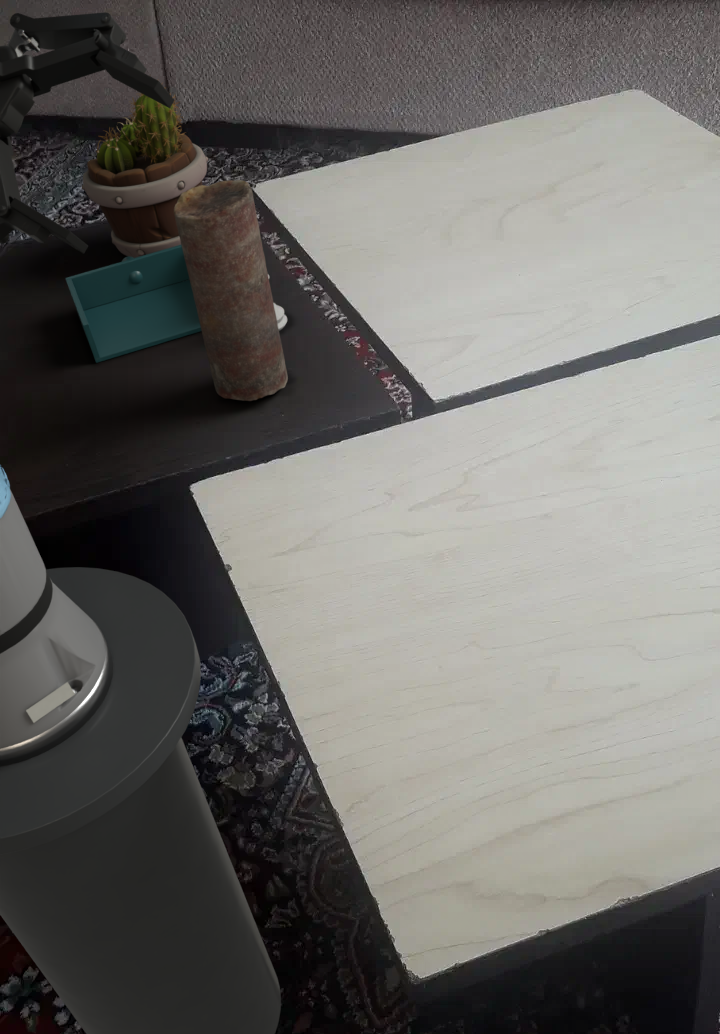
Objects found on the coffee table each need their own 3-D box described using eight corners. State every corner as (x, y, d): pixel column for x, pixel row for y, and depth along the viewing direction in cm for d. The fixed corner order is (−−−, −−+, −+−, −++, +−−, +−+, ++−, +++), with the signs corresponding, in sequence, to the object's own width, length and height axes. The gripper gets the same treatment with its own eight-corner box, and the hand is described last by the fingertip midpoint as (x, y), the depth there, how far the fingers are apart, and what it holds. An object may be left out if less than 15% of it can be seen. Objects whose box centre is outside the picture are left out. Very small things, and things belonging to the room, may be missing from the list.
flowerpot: (84, 273, 131) (27, 102, 117) (147, 217, 140) (101, 53, 126) (185, 281, 126) (138, 102, 112) (243, 222, 135) (207, 51, 121)
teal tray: (229, 322, 117) (220, 284, 114) (96, 363, 115) (82, 325, 111) (194, 264, 128) (185, 228, 125) (72, 300, 126) (60, 264, 123)
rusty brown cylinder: (279, 412, 103) (239, 209, 89) (207, 412, 104) (157, 212, 90) (296, 370, 108) (261, 171, 94) (228, 370, 110) (183, 174, 95)
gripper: (43, -30, 94) (221, 60, 88) (-97, 215, 97) (67, 320, 90) (-10, -93, 87) (179, 0, 81) (-160, 173, 90) (13, 284, 83)
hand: (120, 169), depth 86 cm, fingers open, 13 cm apart
